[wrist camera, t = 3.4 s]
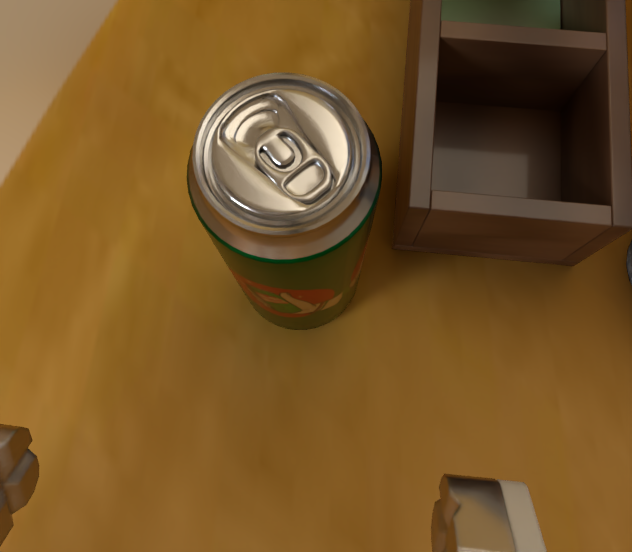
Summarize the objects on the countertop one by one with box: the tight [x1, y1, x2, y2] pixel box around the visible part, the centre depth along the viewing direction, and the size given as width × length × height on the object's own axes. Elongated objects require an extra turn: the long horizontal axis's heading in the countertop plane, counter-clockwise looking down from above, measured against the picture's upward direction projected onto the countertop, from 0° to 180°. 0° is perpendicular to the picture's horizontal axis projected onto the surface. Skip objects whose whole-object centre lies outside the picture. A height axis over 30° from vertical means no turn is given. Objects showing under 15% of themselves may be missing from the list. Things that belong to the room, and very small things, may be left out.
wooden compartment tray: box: [392, 0, 632, 266], centre depth 26 cm, size 8×23×5 cm, turn 174°
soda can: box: [187, 73, 382, 330], centre depth 19 cm, size 5×5×12 cm
